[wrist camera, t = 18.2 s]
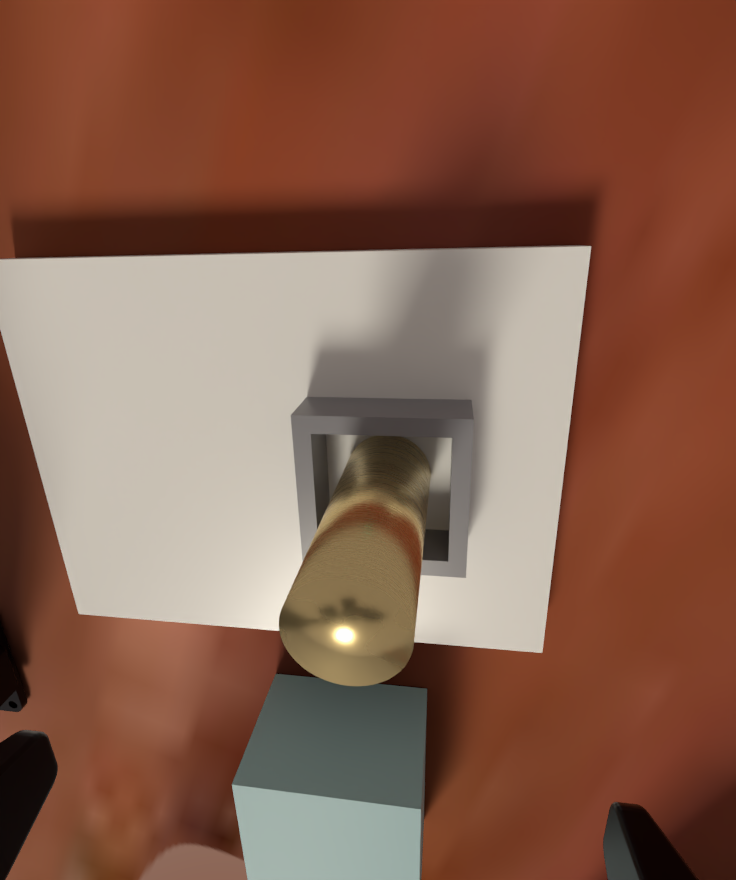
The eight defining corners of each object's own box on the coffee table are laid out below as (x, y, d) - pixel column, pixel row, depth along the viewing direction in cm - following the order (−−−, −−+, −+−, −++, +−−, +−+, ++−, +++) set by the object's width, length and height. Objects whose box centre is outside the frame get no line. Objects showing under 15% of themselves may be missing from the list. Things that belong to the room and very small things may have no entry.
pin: (349, 508, 20) (287, 680, 12) (344, 434, 18) (270, 574, 11) (431, 511, 19) (415, 691, 12) (430, 434, 18) (412, 581, 11)
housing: (290, 802, 28) (255, 925, 23) (275, 673, 25) (231, 784, 20) (423, 820, 27) (417, 952, 22) (427, 688, 24) (420, 809, 19)
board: (99, 592, 25) (47, 646, 22) (14, 258, 20) (-73, 263, 16) (536, 626, 22) (551, 693, 19) (579, 245, 17) (610, 247, 13)
